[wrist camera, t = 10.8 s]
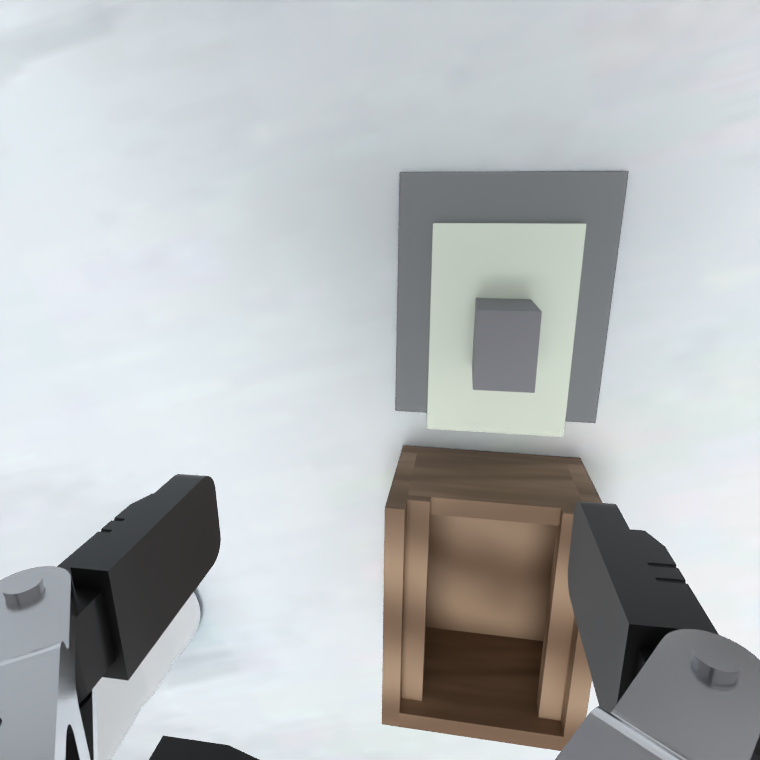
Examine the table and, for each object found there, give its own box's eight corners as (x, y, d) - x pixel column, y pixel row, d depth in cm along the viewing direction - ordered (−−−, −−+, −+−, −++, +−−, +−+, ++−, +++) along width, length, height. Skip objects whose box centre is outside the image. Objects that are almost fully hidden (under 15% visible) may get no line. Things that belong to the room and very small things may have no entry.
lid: (434, 223, 30) (427, 222, 25) (582, 223, 29) (608, 222, 23) (427, 423, 33) (420, 459, 28) (560, 431, 32) (578, 470, 27)
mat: (400, 172, 30) (399, 172, 29) (626, 171, 28) (628, 171, 28) (396, 408, 34) (395, 410, 33) (593, 420, 32) (595, 423, 32)
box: (403, 445, 34) (384, 508, 27) (580, 458, 33) (614, 528, 25) (398, 625, 38) (381, 724, 31) (557, 644, 37) (580, 753, 29)
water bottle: (222, 617, 41) (-122, 1169, 17) (158, 652, 43) (-229, 1188, 19) (164, 547, 40) (-289, 1028, 16) (102, 585, 42) (-383, 1064, 18)
